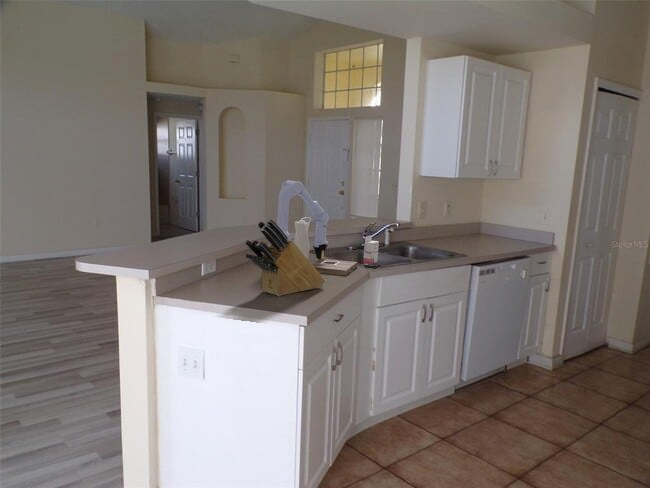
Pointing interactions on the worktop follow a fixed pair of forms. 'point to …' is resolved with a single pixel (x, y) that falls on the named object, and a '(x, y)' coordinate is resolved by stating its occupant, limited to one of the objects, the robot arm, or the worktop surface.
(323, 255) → the brass peg
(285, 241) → the knife block
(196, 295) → the worktop surface
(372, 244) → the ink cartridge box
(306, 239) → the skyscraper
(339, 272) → the plate
